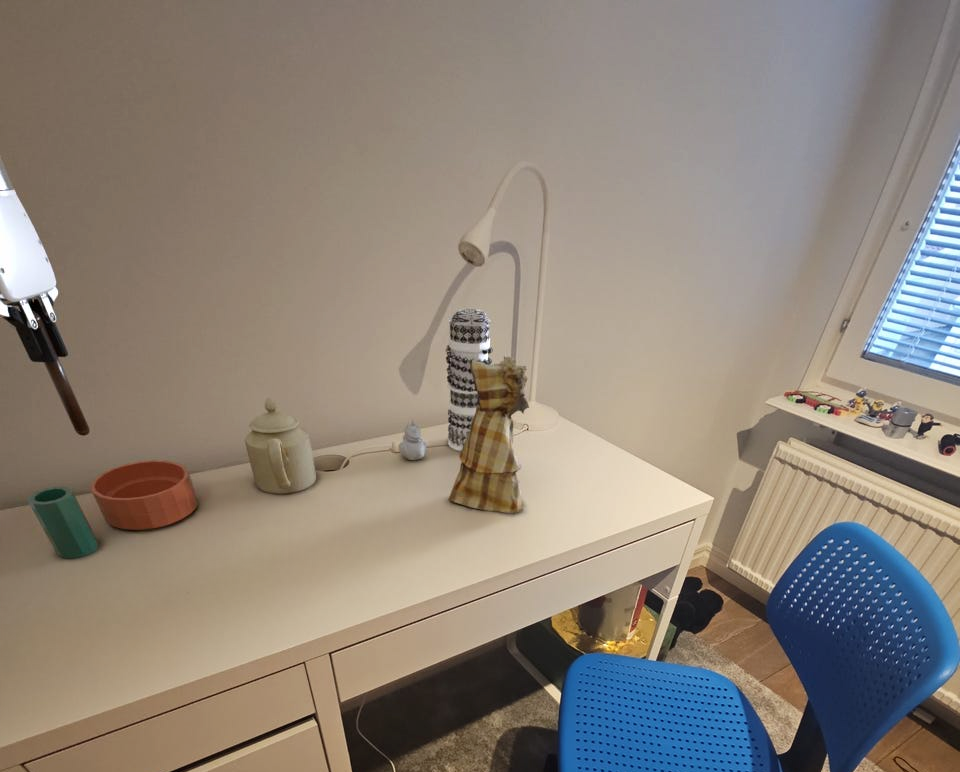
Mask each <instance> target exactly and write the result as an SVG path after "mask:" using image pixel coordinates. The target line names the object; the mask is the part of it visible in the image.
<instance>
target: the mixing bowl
mask: <svg viewBox="0 0 960 772" xmlns="http://www.w3.org/2000/svg"><path fill="white" fill-rule="evenodd" d="M89 487H90V490H91V493H92V495H93V498H94V499H95V502H96V503H97V506H98V508H99V510H100V512H101V514H102V516H103V519H104V521H105V523H107V524H109V525H110V526H112V527H114V528H119V529H121V530H122V529H123V530H137V531H141V530H153V529H158V528H163V527H166V526H169V525H171V524H175V523H177V522H179V521H180V520H182V519H184V518H186V517H187V516H189V515H191V514H192V513H193V512H194V510H196V508H197V507H198V501H199V500H198V496H197V492H196V490H195V488H194V484H193V481H192V478H191V476H190V472H189V470H188V469H187V467H186V466H185V465H182V464H181V463H179V462H175V461H169V460H157V459H154V460H153V459H152V460H142V461H141V460H140V461H136V462H135V461H134V462H131V463H125V464H122V465H119V466H115V467H113V468H110V469H108V470H106V471H104V472H102V473H100V474H99V475H98V476H97V477H95V478H94V479H92V482H91V484H90V486H89Z"/></svg>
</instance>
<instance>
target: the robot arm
mask: <svg viewBox="0 0 960 772" xmlns="http://www.w3.org/2000/svg"><path fill="white" fill-rule="evenodd" d="M2 158H3V157H1V156H0V317H1V318H2V319H3V320H5V321H7V323H8V325H9V327H11V328H12V329H15V331H16V333H17V335H18V337H19V339H20V341H21V343H22V345H23V348H24V349H25V352H26V354H27V356H28V358H29V359H30V361H31V362H33V363H44V362H49V363H53V362H55V361H57V358H56V356H55V354H54V351H53V349H52V347H51V345H50V342H49V340H48V338H47V335H46V333H45V331H44V329H43V327H38V324H37V322H36V320H35V317H34V315H33V313H32V311H34V312H36V313H37V314H38V315H39V316H40V317H41V320H42V322H43V324H44V326H45V329H46V331H47V333H48V335H49V338H50V340H51V342H52V345H53V347H54V349H55V351H56V354H57V356H58V358H66V357H68V356H69V352H68V350H67V347H66V345H65V342H64V341H63V337H62V336H61V333H60V331H59V328H58V327H57V324H56V321H57V315H56V314H55V310H54V305H55V303H54V302H55V301H56V299H57V298H58V296H59V290H58V287H56V285H57V279H56V276H55V273H54V270H53V267H52V264H51V261H50V260H49V257H48V254H47V252H46V250H45V248H44V246H43V243H42V241H41V239H40V237H39V235H38V233H37V231H36V228H35V226H34V224H33V223H32V221H31V219H30V217H29V215H28V213H27V211H26V209H25V207H24V205H23V204H22V202H21V200H20V198H19V196H18V195H17V193H16V189H15V187H14V185H13V183H12V180H11V177H10V175H9V173H8V170H7V168H6V165H5V163H4V161H3V159H2ZM16 307H18V308H16Z"/></svg>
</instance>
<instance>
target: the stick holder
mask: <svg viewBox="0 0 960 772" xmlns="http://www.w3.org/2000/svg"><path fill="white" fill-rule="evenodd" d="M27 503H28V504H29V506H30V508H31V510H32V512H33V514H34V516H35V517H36V519H37V521H38V523H39V525H40V526H41V528H42V530H43V531H44V533H45V535H46V537H47V538H48V540H49V542H50V544H51V546H52V547H53V549H54V551H55V553H56V554H57V556H59V557H60V558H62V559H67V560H73V559H74V560H75V559H79V558H84V557H86V556H89V555H91V554H92V553H94V552H95V551H96V550H97V549H98V548H99V542H98V539H97V537H96V535H95V533H94V531H93V529H92V527H91V525H90V523H89V521H88V519H87V517H86V515H85V513H84V511H83V509H82V506H81V504H80V502H79V500H78V498H77V497H76V495H75V492H74V489H72V488H70V487H67V486H51V487H45V488H42V489H39V490H36V491H35V492H33V493H31V494H30V495H28V497H27Z"/></svg>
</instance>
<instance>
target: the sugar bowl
mask: <svg viewBox="0 0 960 772" xmlns="http://www.w3.org/2000/svg"><path fill="white" fill-rule="evenodd" d="M277 408H278V407H277V404H276V402H275V401H274V400H273V399H272V398H271V397H267V398H266V399H265V402H264V409H265V410H266V412H262V413H260V414H258V415H257V416H255V417H254V418H253V420H251V421H250V422H249V425H248V427H249V429H250V430H251V431H250V432H249V433H247V434H246V435H245V437H244V443H245V447H246V453H247V456H248V457H247V458H248V460H249V464H250V468H251V471H252V474H253V475H252V476H253V478H254V481H255V484H256V487H257V488H258V489H259V490H261V491H263V492H266V493H268V494H277V495H284V494H292V493H297V492H301V491H304V490H306V489H308V488H310V487H311V486H313V485H314V484H315V483H316V481H317V473H316V467H315V461H314V454H313V449H312V448H313V447H312V443H311V439H310V433H309V432H308V431H307V429H304V428H303V427H300V426H299V424H300V420H299V419H297V418H296V417H294V416H292V415H291V414H289V413H287V412H283V411H276V410H277Z"/></svg>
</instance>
